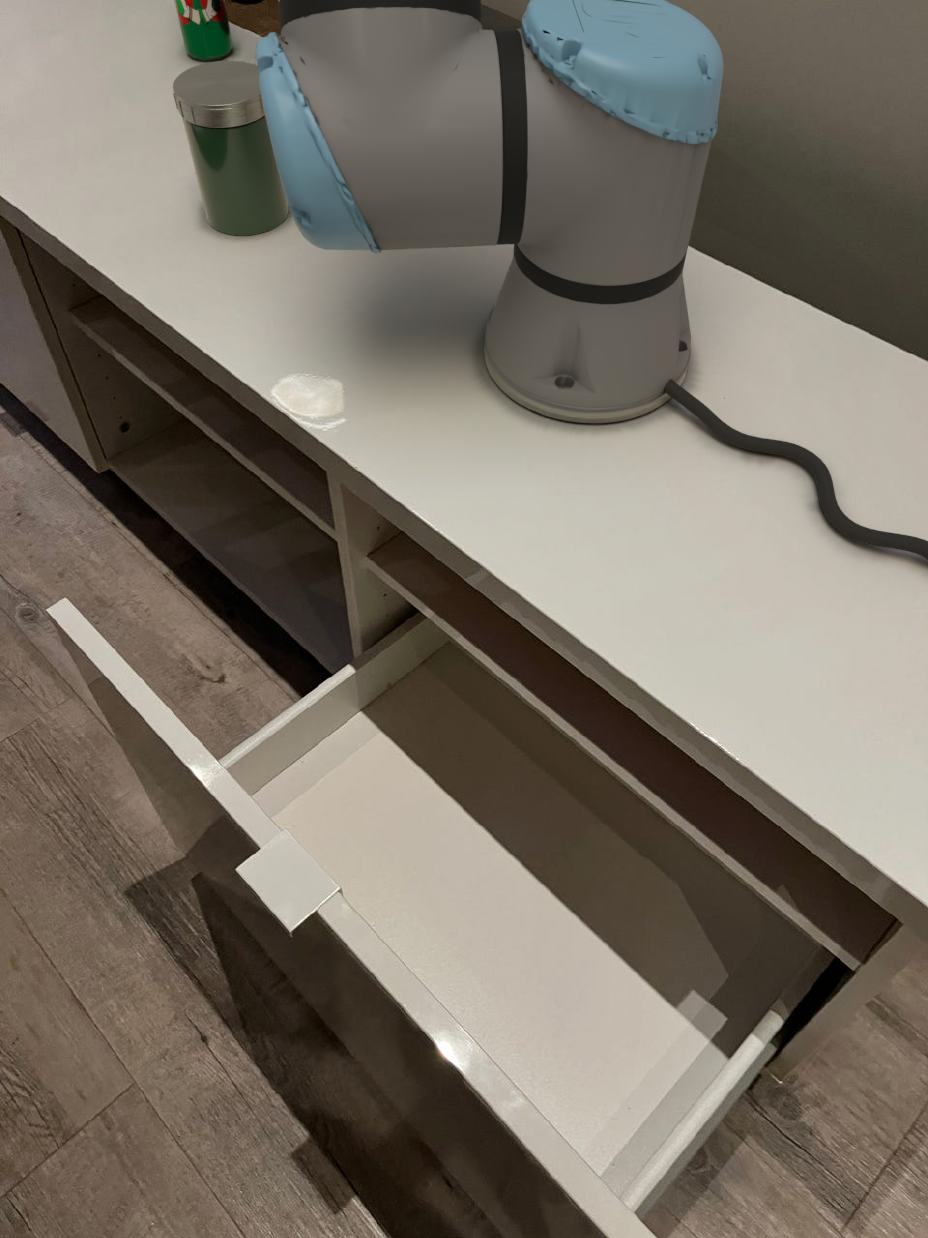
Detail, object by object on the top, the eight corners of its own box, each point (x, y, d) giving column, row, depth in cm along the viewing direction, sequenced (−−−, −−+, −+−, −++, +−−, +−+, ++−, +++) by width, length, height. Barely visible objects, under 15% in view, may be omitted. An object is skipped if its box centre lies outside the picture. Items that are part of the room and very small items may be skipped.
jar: (300, 223, 80) (280, 97, 72) (220, 243, 78) (190, 116, 70) (273, 183, 84) (252, 59, 76) (196, 202, 82) (165, 77, 74)
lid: (286, 115, 73) (283, 92, 71) (192, 136, 71) (187, 113, 70) (256, 75, 77) (252, 53, 75) (167, 93, 75) (161, 71, 74)
